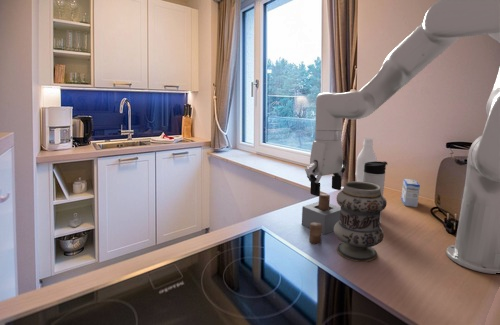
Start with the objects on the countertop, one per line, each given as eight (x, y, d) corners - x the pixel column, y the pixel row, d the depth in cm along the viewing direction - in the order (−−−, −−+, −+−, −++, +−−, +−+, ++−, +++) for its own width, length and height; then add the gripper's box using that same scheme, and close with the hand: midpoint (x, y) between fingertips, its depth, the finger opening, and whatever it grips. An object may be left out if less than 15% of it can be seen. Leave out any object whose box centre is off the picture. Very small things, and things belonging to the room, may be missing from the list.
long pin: (322, 222, 96) (323, 193, 94) (330, 226, 93) (332, 195, 91) (315, 225, 94) (316, 194, 92) (323, 228, 92) (325, 197, 90)
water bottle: (352, 205, 113) (357, 138, 107) (353, 199, 119) (358, 136, 114) (372, 207, 110) (379, 140, 105) (373, 201, 116) (379, 137, 111)
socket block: (343, 227, 93) (344, 208, 92) (324, 234, 88) (325, 215, 86) (320, 218, 100) (321, 200, 99) (301, 224, 95) (302, 206, 93)
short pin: (323, 242, 83) (324, 225, 82) (315, 245, 81) (316, 228, 80) (314, 238, 85) (315, 221, 84) (306, 241, 84) (307, 224, 83)
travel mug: (383, 226, 93) (389, 164, 89) (360, 225, 94) (366, 163, 90) (378, 219, 99) (384, 160, 95) (358, 217, 100) (363, 159, 96)
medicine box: (400, 199, 120) (403, 178, 118) (413, 200, 118) (415, 179, 116) (404, 205, 112) (406, 183, 110) (417, 207, 111) (420, 184, 109)
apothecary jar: (369, 241, 84) (375, 178, 80) (390, 264, 72) (399, 192, 68) (326, 241, 83) (330, 179, 80) (341, 265, 72) (347, 192, 68)
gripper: (336, 133, 96) (334, 184, 99) (297, 137, 86) (296, 194, 89) (357, 134, 90) (353, 189, 93) (318, 139, 80) (316, 200, 83)
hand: (325, 192), depth 91 cm, fingers open, 9 cm apart
